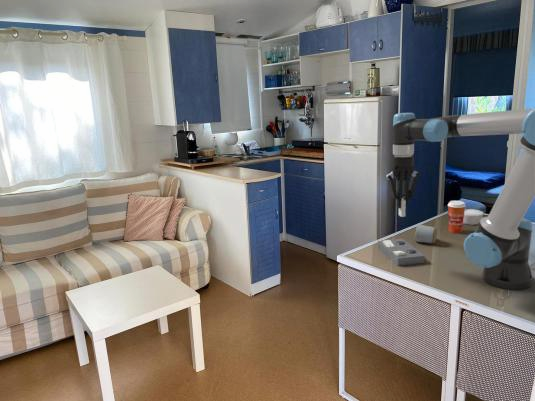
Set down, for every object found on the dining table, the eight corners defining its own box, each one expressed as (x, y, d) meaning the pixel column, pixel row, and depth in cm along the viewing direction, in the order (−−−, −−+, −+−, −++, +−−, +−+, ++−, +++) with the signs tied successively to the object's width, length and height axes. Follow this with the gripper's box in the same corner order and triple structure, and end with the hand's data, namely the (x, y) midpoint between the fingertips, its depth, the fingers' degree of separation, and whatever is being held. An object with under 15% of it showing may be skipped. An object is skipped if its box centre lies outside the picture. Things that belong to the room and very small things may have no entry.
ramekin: (466, 217, 212) (467, 207, 211) (487, 222, 203) (488, 212, 202) (453, 222, 207) (453, 211, 206) (474, 227, 198) (474, 216, 196)
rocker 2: (405, 255, 164) (405, 252, 164) (397, 255, 163) (397, 253, 163) (400, 252, 169) (399, 250, 169) (392, 253, 168) (392, 251, 168)
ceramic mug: (434, 246, 178) (435, 229, 176) (414, 243, 182) (415, 227, 180) (438, 238, 187) (438, 222, 185) (419, 236, 191) (419, 220, 189)
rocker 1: (394, 248, 174) (394, 246, 173) (387, 249, 173) (387, 246, 173) (389, 241, 178) (390, 239, 178) (382, 242, 178) (382, 240, 177)
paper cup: (445, 232, 193) (446, 204, 189) (447, 227, 199) (449, 199, 195) (463, 234, 189) (465, 205, 185) (465, 229, 195) (467, 201, 191)
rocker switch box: (424, 262, 163) (424, 255, 162) (397, 265, 162) (397, 258, 161) (401, 244, 182) (402, 238, 181) (378, 247, 181) (378, 240, 180)
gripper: (415, 152, 158) (413, 211, 164) (382, 155, 157) (381, 214, 163) (424, 155, 151) (422, 216, 157) (390, 158, 149) (389, 220, 155)
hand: (401, 215), depth 160 cm, fingers closed
